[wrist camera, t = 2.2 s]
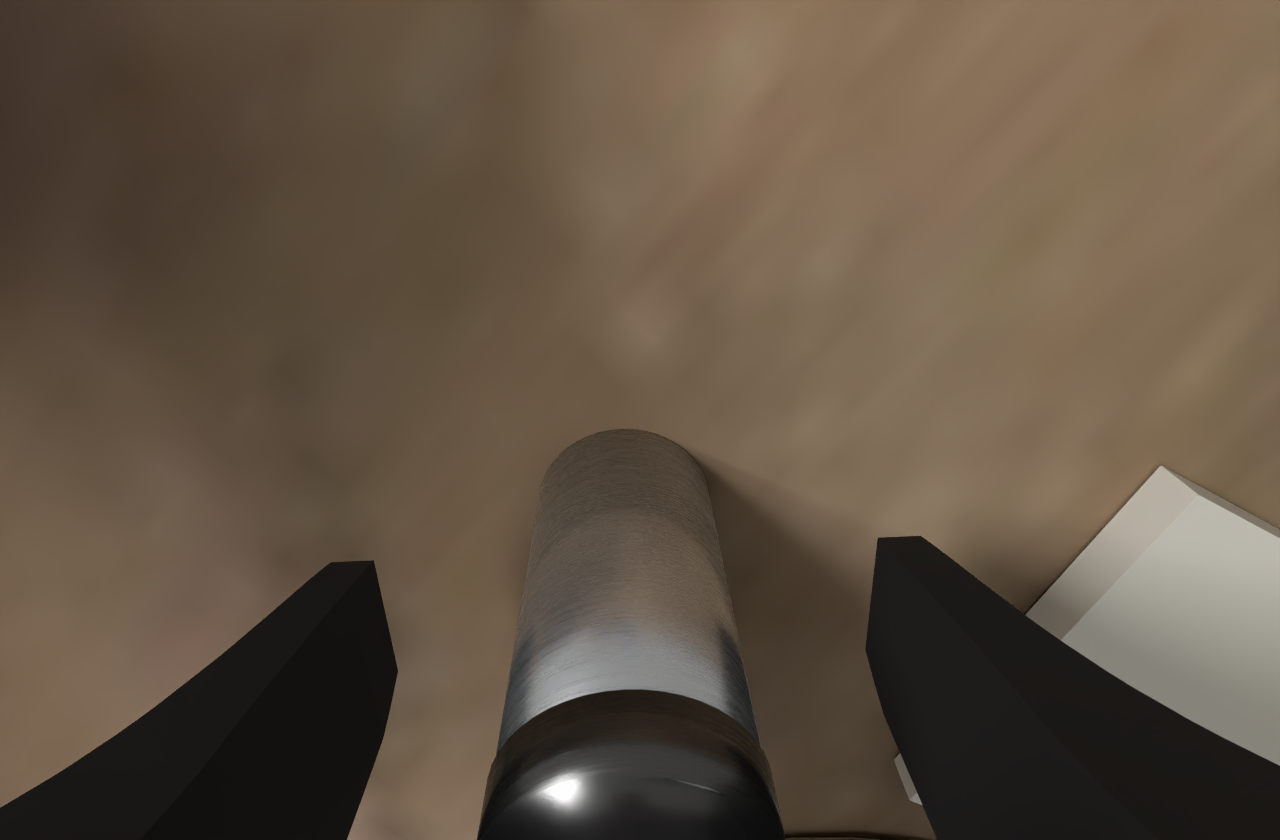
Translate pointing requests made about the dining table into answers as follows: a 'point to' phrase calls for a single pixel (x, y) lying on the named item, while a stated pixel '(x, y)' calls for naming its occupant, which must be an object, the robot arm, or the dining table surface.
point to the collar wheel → (828, 838)
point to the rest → (1178, 610)
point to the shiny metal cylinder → (627, 663)
